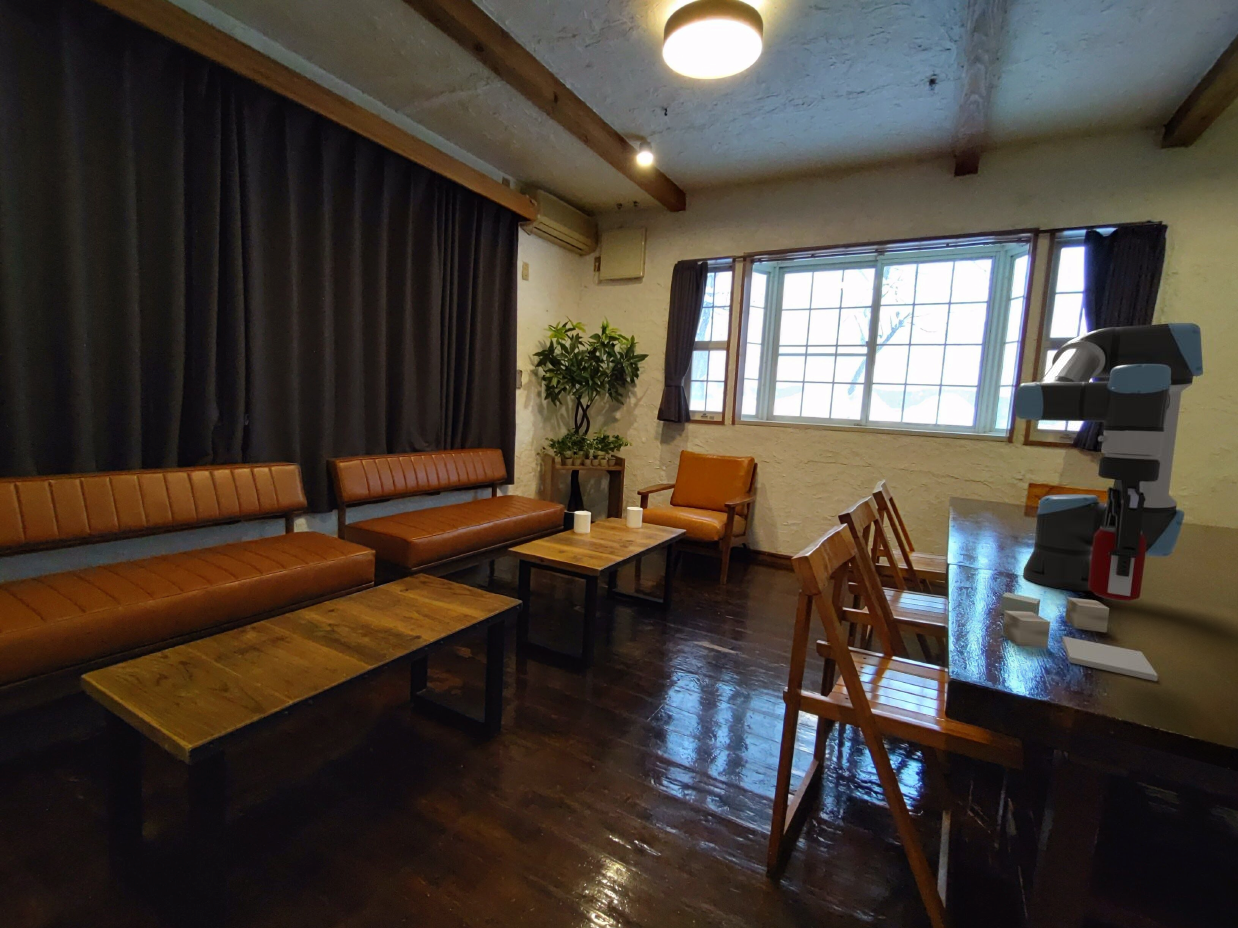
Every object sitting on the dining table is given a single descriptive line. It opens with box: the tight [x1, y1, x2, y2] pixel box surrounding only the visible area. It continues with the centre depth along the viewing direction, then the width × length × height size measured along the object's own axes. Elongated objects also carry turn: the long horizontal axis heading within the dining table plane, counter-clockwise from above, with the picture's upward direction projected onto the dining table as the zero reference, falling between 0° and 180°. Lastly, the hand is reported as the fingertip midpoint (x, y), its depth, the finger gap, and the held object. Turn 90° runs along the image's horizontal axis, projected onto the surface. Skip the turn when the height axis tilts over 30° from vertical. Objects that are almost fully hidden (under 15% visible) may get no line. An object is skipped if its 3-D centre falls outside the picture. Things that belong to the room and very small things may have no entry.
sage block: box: [1000, 591, 1041, 616], centre depth 117 cm, size 4×6×4 cm, turn 44°
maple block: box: [1002, 611, 1051, 649], centre depth 102 cm, size 5×5×5 cm
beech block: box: [1064, 596, 1110, 633], centre depth 111 cm, size 5×5×5 cm
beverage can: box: [1088, 526, 1147, 602], centre depth 94 cm, size 7×7×12 cm
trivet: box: [1061, 635, 1159, 682], centre depth 95 cm, size 11×11×1 cm
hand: (1114, 588), depth 94 cm, fingers closed on beverage can, 7 cm apart
